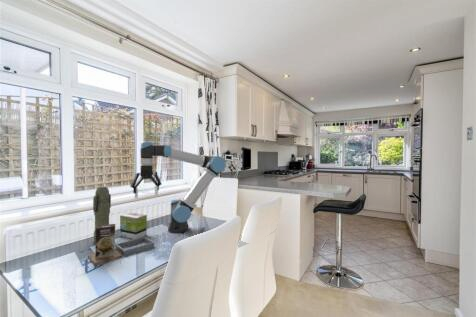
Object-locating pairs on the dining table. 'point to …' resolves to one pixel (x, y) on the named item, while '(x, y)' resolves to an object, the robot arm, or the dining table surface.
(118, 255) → the board
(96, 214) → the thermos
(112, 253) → the coffee box
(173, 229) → the robot arm
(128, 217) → the tea box
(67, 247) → the dining table surface
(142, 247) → the bin
